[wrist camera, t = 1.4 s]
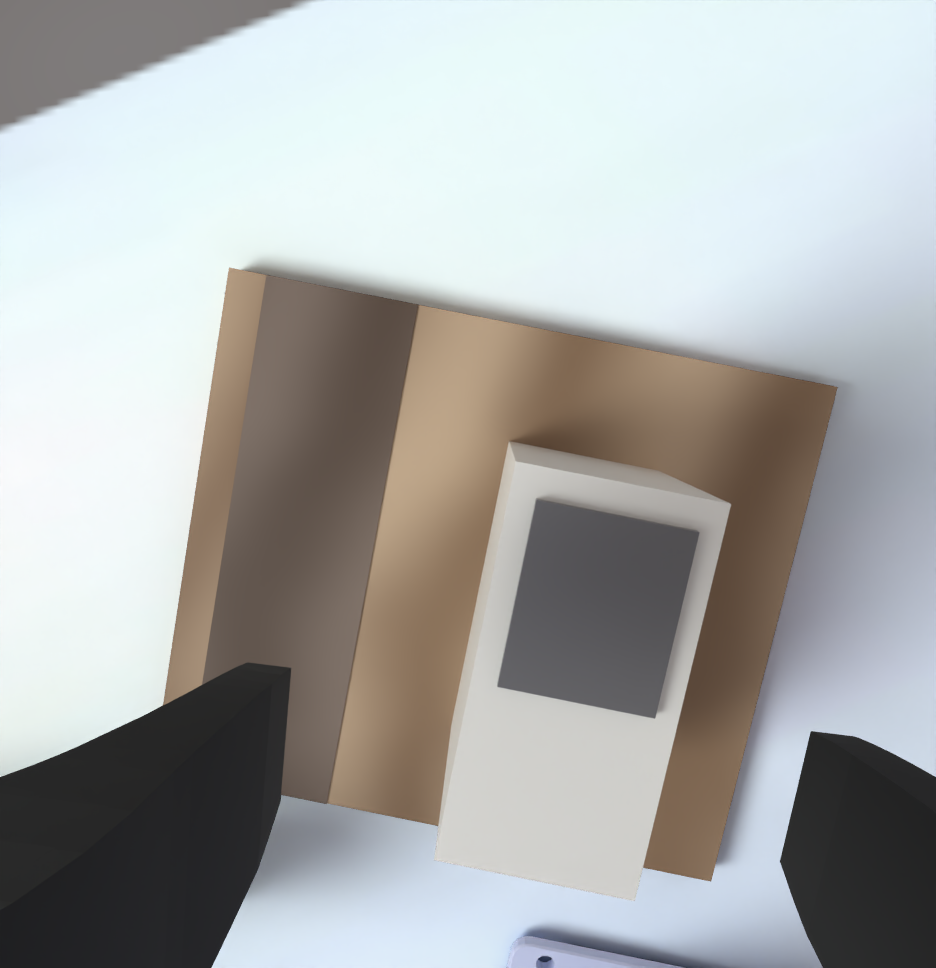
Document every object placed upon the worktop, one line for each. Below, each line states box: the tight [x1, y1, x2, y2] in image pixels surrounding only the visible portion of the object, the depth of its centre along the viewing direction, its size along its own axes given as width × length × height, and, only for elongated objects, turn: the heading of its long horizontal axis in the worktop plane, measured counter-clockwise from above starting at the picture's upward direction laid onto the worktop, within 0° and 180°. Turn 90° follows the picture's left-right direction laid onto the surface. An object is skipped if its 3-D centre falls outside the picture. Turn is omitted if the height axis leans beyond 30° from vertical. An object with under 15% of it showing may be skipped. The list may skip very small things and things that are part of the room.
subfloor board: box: [163, 268, 838, 881], centre depth 20 cm, size 16×14×1 cm
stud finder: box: [434, 441, 731, 901], centre depth 17 cm, size 4×8×6 cm, turn 169°
